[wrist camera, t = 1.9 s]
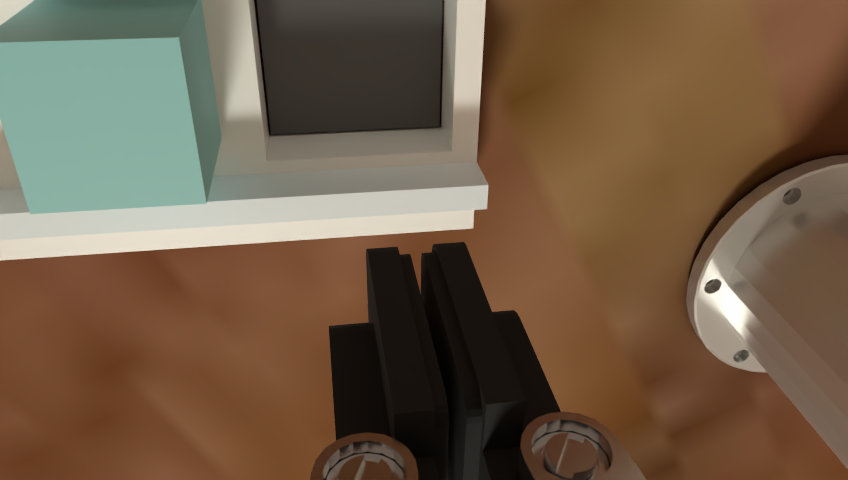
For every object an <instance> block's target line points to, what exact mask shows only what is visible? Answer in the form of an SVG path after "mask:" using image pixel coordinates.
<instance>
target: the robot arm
mask: <svg viewBox="0 0 848 480" xmlns="http://www.w3.org/2000/svg"><path fill="white" fill-rule="evenodd" d="M366 263H367V291H368V319H369V323H359V324H347V325H336V326H329V336H330V352H331V367H332V383H333V398H334V414H335V430H336V441H335V442H334V443H332V444H331V445H329V446H328V447H326V448H325V449H324V450H323V452H322V453H321V454H320V455H319V457H318V458H317V459H316V461H315V464H314V467H313V470H312V472H311V478H310V480H646V478H645V477H644V475H643V474H642V473H641V471H640V470H639V468H638V467H637V465H636V464H635V463H634V461H633V460H632V458H631V457H630V456H629V454H628V453H627V451H626V450H625V448H624V447H623V446H622V444H621V443H620V441H619V440H618V439H617V437H616V436H615V435H614V434H613V433H612V432H611V431H610V430H609V429H608V428H607V427H606V426H604V425H603V424H601V423H599V422H598V421H596V420H595V419H592V418H590V417H587V416H584V415H581V414H577V413H570V412H561V411H560V409H559V406H558V404H557V402H556V400H555V397H554V395H553V393H552V390H551V388H550V386H549V384H548V381H547V379H546V377H545V374H544V372H543V370H542V368H541V365H540V363H539V361H538V359H537V356H536V354H535V352H534V349H533V347H532V345H531V343H530V340H529V338H528V336H527V333H526V331H525V329H524V327H523V324H522V322H521V320H520V318H519V316H518V314H517V312H515V311H514V310H511V311H499V312H492V311H491V308H490V306H489V303H488V301H487V298H486V295H485V293H484V290H483V288H482V285H481V283H480V280H479V277H478V275H477V272H476V270H475V267H474V265H473V262H472V259H471V257H470V254H469V252H468V249H467V246H466V244H465V243H464V242H458V243H444V244H434V245H433V247H432V252H431V253H422V257H421V294H420V290H419V286H418V283H417V279H416V275H415V271H414V267H413V263H412V259H411V256H410V254H404V255H399V250H398V247H388V248H374V249H367V250H366ZM686 302H687V309H688V315H689V319H690V322H691V324H692V326H693V328H694V331H695V333H696V334H697V335H698V337H699V338H700V339H701V341H702V342H703V343H704V345H705V346H706V347H707V349H708V350H709V351H710V352H712V353H713V354H714V355H715V356H716V357H717V358H718V359H719V360H721V361H723V362H725V363H727V364H728V365H730V366H733V367H736V368H740V369H744V370H747V371H752V372H767V373H768V374H769V375H770V376H771V378H772V379H773V380H774V381H775V382H776V384H777V385H778V386H779V387H780V388H781V390H782V391H783V392H784V393H785V394H786V396H787V397H788V398H789V399H790V401H791V402H792V403H793V404H794V405H795V407H796V408H797V409H798V410H799V411H800V413H801V414H802V415H803V416H804V417H805V419H806V420H807V421H808V422H809V423H810V425H811V426H812V427H813V428H814V429H815V431H816V432H817V433H818V434H819V435H820V437H821V438H822V439H823V440H824V441H825V443H826V444H827V445H828V446H829V447H830V449H831V450H832V451H833V452H834V453H835V455H836V456H837V457H838V458H839V459H840V461H841V462H842V463H843V464H844V465H845V467H846V468H847V469H848V155H838V156H830V157H825V158H821V159H817V160H813V161H808V162H806V163H803V164H801V165H798V166H796V167H793V168H791V169H789V170H786V171H784V172H782V173H780V174H778V175H777V176H775V177H773V178H771V179H770V180H768V181H766V182H765V183H763V184H761V185H759V186H758V187H757V188H756V189H754V190H753V191H752V192H750V193H749V194H748V195H747V196H745V197H744V198H743V199H741V200H740V201H739V202H738V203H737V204H736V205H735V206H734V207H733V208H732V209H731V210H730V211H729V212H728V213H727V214H726V215H725V216H724V217H723V218H722V219H721V220H720V221H719V222H718V224H717V225H716V226H715V228H714V229H713V231H712V232H711V233H710V235H709V236H708V237H707V239H706V240H705V242H704V244H703V246H702V248H701V249H700V251H699V253H698V255H697V257H696V259H695V261H694V264H693V267H692V271H691V274H690V277H689V280H688V288H687V299H686Z"/></svg>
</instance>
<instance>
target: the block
mask: <svg viewBox="0 0 848 480" xmlns="http://www.w3.org/2000/svg"><path fill="white" fill-rule="evenodd" d="M0 120H1V123H2V127H3V130H4V133H5V136H6V139H7V142H8V145H9V149H10V152H11V155H12V158H13V161H14V164H15V167H16V171H17V174H18V177H19V180H20V183H21V186H22V189H23V193H24V196H25V199H26V202H27V205H28V208H29V212H30V214H42V213H59V212H75V211H92V210H109V209H126V208H142V207H159V206H176V205H192V204H207V200H208V196H209V191H210V187H211V182H212V178H213V174H214V169H215V165H216V161H217V156H218V152H219V147H220V143H221V139H222V138H221V131H220V124H219V117H218V111H217V104H216V97H215V90H214V83H213V77H212V70H211V63H210V56H209V49H208V43H207V36H206V29H205V22H204V16H203V9H202V2H201V0H34V1H33V2H31V3H30V4H29V5H27V6H26V7H25V8H23V9H22V10H21V11H19V12H18V13H17V14H15V15H14V16H12V17H11V18H10V19H8V20H7V21H6V22H4V23H3V24H2V25H0Z"/></svg>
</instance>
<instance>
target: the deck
mask: <svg viewBox="0 0 848 480" xmlns="http://www.w3.org/2000/svg"><path fill="white" fill-rule="evenodd" d="M33 1H34V0H0V25H2V24H3V23H4V22H6V21H7V20H8V19H10V18H11V17H12V16H14V15H15V14H17V13H18V12H19V11H21V10H22V9H23V8H25V7H26V6H27V5H29V4H30V3H31V2H33ZM201 2H202V9H203V16H204V22H205V29H206V36H207V43H208V49H209V56H210V63H211V70H212V77H213V83H214V90H215V97H216V104H217V111H218V117H219V124H220V131H221V138H222V139H221V143H220V147H219V152H218V156H217V161H216V165H215V169H214V174H213V178H212V182H211V187H210V191H209V196H208V200H207V204H192V205H176V206H159V207H142V208H126V209H109V210H92V211H75V212H59V213H42V214H30V212H29V208H28V205H27V202H26V199H25V196H24V193H23V189H22V186H21V183H20V180H19V177H18V174H17V171H16V167H15V164H14V161H13V158H12V155H11V152H10V149H9V145H8V142H7V139H6V136H5V133H4V130H3V127H2V123H1V120H0V260H13V259H28V258H42V257H57V256H72V255H87V254H101V253H116V252H131V251H146V250H160V249H175V248H190V247H205V246H219V245H234V244H249V243H264V242H278V241H293V240H308V239H323V238H337V237H352V236H367V235H382V234H396V233H411V232H426V231H441V230H455V229H470V228H473V221H474V210H479V209H487V199H488V183H487V181H486V179H485V177H484V175H483V173H482V171H481V169H480V167H479V165H478V163H477V149H478V131H479V113H480V95H481V77H482V59H483V41H484V23H485V5H486V0H444V26H443V64H442V103H441V127H439V121H440V81H441V40H442V0H257V8H258V17H259V27H260V36H261V45H262V55H263V64H264V73H265V82H266V92H267V101H268V110H269V120H270V129H271V135H269V131H268V121H267V112H266V103H265V94H264V85H263V76H262V67H261V57H260V48H259V39H258V30H257V21H256V12H255V3H254V0H201ZM419 127H427V128H419ZM398 128H406V129H398ZM377 129H385V130H377ZM356 130H364V131H356ZM335 131H343V132H335ZM314 132H322V133H314ZM293 133H301V134H293ZM272 134H280V135H272Z"/></svg>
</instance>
